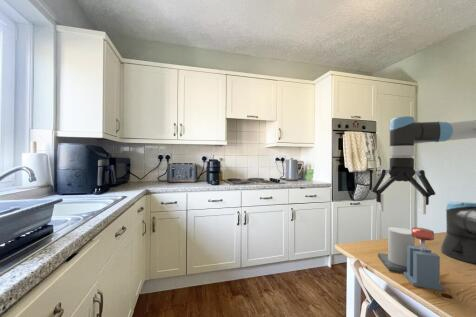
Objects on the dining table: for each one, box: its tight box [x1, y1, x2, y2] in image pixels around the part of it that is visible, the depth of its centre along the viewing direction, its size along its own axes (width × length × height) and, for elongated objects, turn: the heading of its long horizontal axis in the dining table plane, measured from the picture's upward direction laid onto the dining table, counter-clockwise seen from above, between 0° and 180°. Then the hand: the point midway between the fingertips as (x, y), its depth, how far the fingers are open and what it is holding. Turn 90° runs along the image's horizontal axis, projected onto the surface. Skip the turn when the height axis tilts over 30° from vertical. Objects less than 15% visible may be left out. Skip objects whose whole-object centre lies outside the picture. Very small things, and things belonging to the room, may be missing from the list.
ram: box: [411, 227, 435, 252], centre depth 71 cm, size 6×6×10 cm
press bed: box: [377, 252, 407, 274], centre depth 82 cm, size 12×12×2 cm
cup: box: [387, 226, 416, 267], centre depth 82 cm, size 8×8×12 cm
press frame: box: [402, 245, 445, 291], centre depth 71 cm, size 8×7×10 cm
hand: (401, 212), depth 82 cm, fingers open, 13 cm apart
